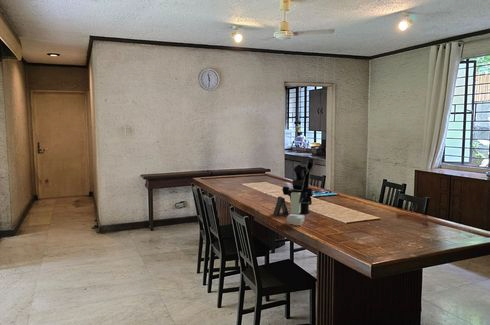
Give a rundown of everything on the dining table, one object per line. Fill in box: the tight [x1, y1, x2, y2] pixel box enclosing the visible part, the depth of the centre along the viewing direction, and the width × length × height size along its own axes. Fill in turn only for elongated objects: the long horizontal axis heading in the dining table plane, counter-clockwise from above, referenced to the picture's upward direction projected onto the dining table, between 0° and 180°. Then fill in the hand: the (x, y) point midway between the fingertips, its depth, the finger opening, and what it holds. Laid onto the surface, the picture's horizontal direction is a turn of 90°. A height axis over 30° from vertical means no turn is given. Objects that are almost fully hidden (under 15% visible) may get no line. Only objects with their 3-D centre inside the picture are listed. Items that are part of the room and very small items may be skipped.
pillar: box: [290, 192, 301, 215], centre depth 243 cm, size 5×5×12 cm
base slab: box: [286, 219, 305, 226], centre depth 244 cm, size 9×9×2 cm
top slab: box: [286, 213, 306, 222], centre depth 244 cm, size 9×9×2 cm
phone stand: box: [273, 196, 290, 217], centre depth 266 cm, size 9×6×12 cm, turn 108°
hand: (295, 202), depth 241 cm, fingers closed on pillar, 5 cm apart
